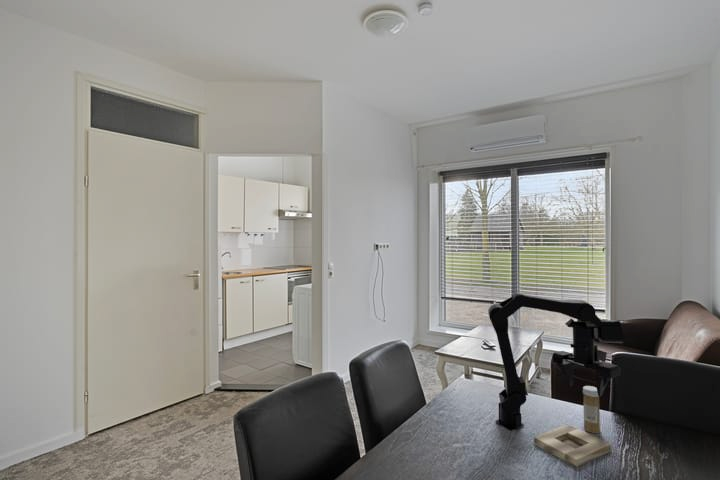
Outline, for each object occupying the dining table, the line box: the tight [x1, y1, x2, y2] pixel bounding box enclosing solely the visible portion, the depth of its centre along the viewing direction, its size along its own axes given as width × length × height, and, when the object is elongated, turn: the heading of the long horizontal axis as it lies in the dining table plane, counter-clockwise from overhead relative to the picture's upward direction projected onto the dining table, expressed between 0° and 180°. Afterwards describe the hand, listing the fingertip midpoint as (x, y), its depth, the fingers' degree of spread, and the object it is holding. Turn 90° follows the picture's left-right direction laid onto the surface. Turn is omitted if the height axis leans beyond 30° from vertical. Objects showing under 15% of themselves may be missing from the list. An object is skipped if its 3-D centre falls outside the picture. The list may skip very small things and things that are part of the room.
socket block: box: [533, 423, 612, 468], centre depth 108 cm, size 13×16×2 cm
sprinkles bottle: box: [582, 385, 601, 434], centre depth 117 cm, size 5×5×14 cm
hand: (585, 390), depth 115 cm, fingers open, 9 cm apart
